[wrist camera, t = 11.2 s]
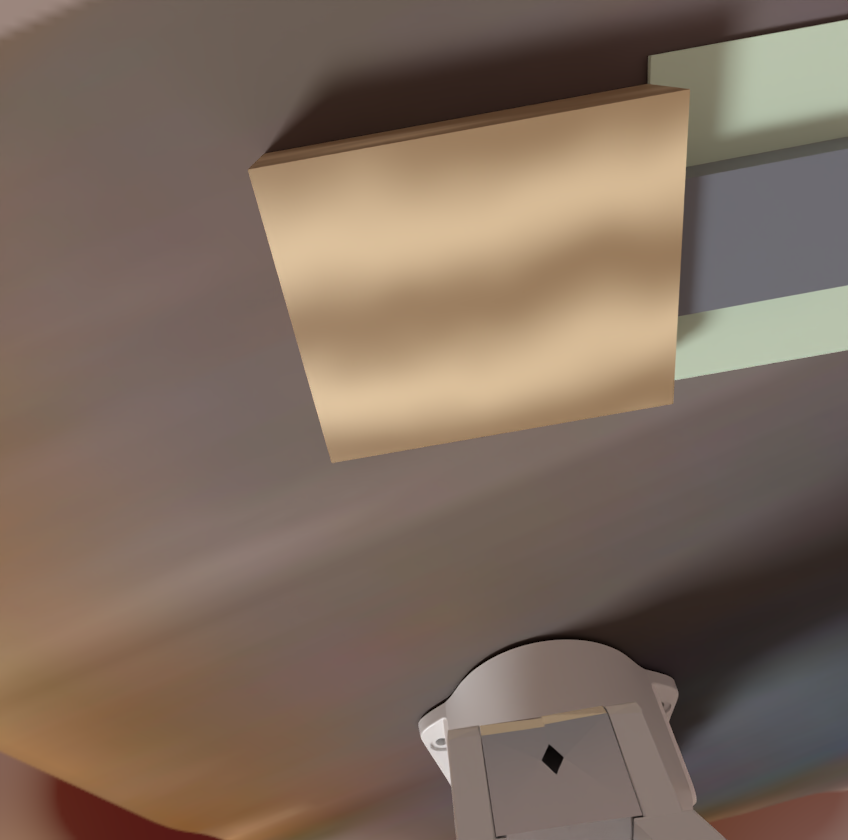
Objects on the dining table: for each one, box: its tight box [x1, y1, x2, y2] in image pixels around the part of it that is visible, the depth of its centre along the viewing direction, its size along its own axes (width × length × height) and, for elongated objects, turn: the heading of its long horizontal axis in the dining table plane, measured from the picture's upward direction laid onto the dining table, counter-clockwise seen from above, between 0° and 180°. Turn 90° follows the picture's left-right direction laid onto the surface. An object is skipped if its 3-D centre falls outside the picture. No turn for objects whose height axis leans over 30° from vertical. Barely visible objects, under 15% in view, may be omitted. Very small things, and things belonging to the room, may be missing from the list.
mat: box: [647, 19, 848, 380], centre depth 29 cm, size 15×13×1 cm
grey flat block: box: [678, 137, 848, 316], centre depth 28 cm, size 6×9×2 cm, turn 99°
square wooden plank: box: [248, 84, 690, 463], centre depth 27 cm, size 13×16×4 cm
